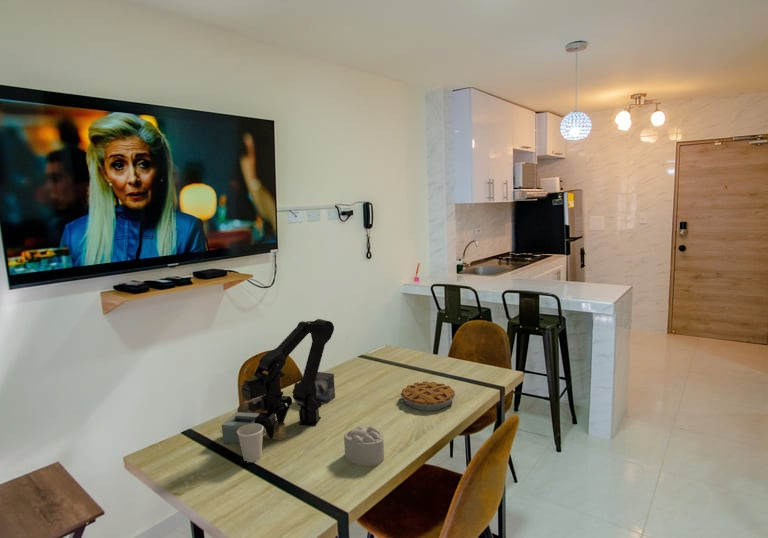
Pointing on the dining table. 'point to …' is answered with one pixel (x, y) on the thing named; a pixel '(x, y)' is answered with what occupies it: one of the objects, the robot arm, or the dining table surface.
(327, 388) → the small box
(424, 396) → the pie
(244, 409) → the tin
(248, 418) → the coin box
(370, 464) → the lumpy-topped squat cylinder
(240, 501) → the dining table surface
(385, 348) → the dining table surface
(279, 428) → the tan rectangular block
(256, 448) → the dixie cup
